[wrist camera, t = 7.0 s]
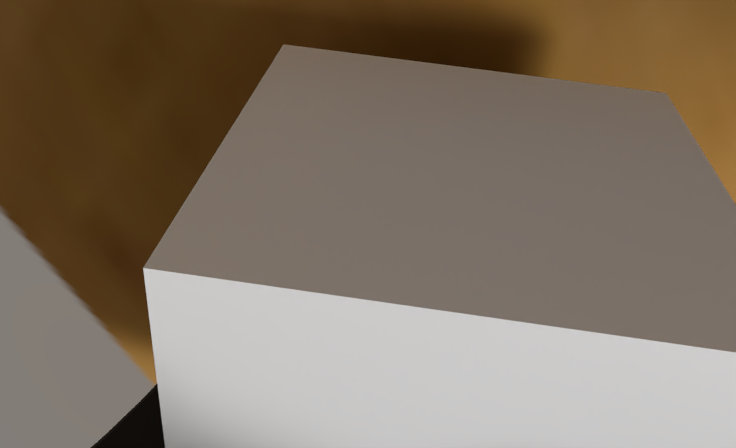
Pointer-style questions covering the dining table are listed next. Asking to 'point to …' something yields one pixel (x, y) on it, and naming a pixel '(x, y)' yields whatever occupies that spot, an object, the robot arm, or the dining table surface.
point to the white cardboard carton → (447, 268)
